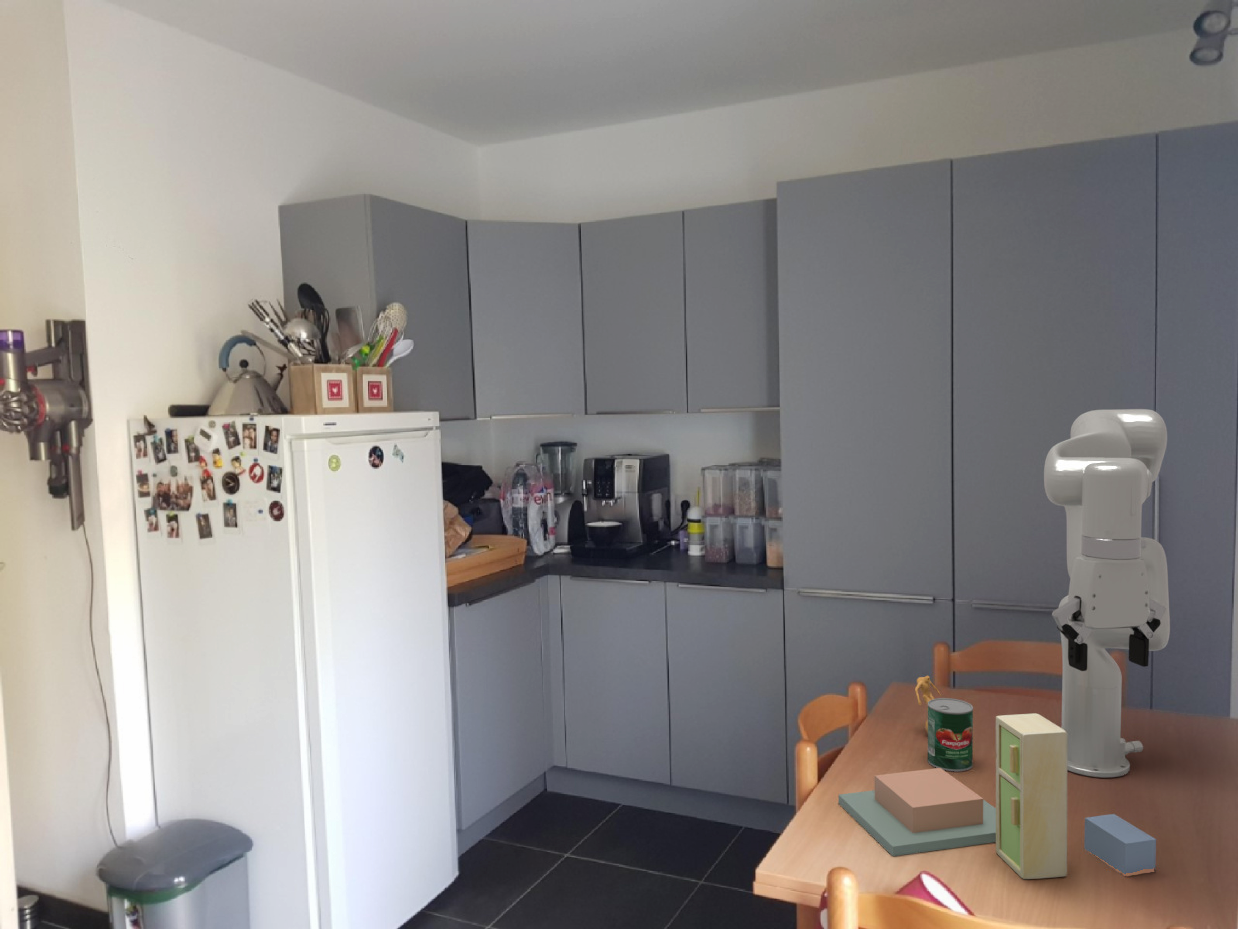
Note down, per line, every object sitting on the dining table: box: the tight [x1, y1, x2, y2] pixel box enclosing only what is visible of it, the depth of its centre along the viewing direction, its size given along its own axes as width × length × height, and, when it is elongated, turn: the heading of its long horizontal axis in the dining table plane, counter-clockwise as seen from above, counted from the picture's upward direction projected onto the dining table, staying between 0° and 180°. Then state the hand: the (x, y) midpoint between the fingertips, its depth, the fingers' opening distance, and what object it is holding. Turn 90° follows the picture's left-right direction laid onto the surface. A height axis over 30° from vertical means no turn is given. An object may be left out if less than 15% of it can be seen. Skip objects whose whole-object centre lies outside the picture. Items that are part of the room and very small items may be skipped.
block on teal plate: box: [838, 767, 996, 857], centre depth 144 cm, size 22×18×6 cm
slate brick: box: [1083, 813, 1157, 874], centre depth 131 cm, size 5×8×5 cm, turn 12°
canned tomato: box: [927, 697, 974, 772], centre depth 166 cm, size 8×8×11 cm
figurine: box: [914, 675, 942, 733], centre depth 179 cm, size 8×6×12 cm
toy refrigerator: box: [995, 712, 1068, 880], centre depth 130 cm, size 8×7×21 cm
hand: (1108, 666), depth 130 cm, fingers open, 9 cm apart
